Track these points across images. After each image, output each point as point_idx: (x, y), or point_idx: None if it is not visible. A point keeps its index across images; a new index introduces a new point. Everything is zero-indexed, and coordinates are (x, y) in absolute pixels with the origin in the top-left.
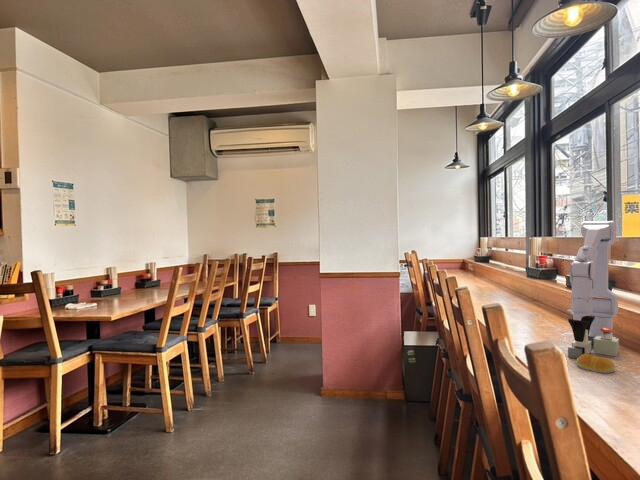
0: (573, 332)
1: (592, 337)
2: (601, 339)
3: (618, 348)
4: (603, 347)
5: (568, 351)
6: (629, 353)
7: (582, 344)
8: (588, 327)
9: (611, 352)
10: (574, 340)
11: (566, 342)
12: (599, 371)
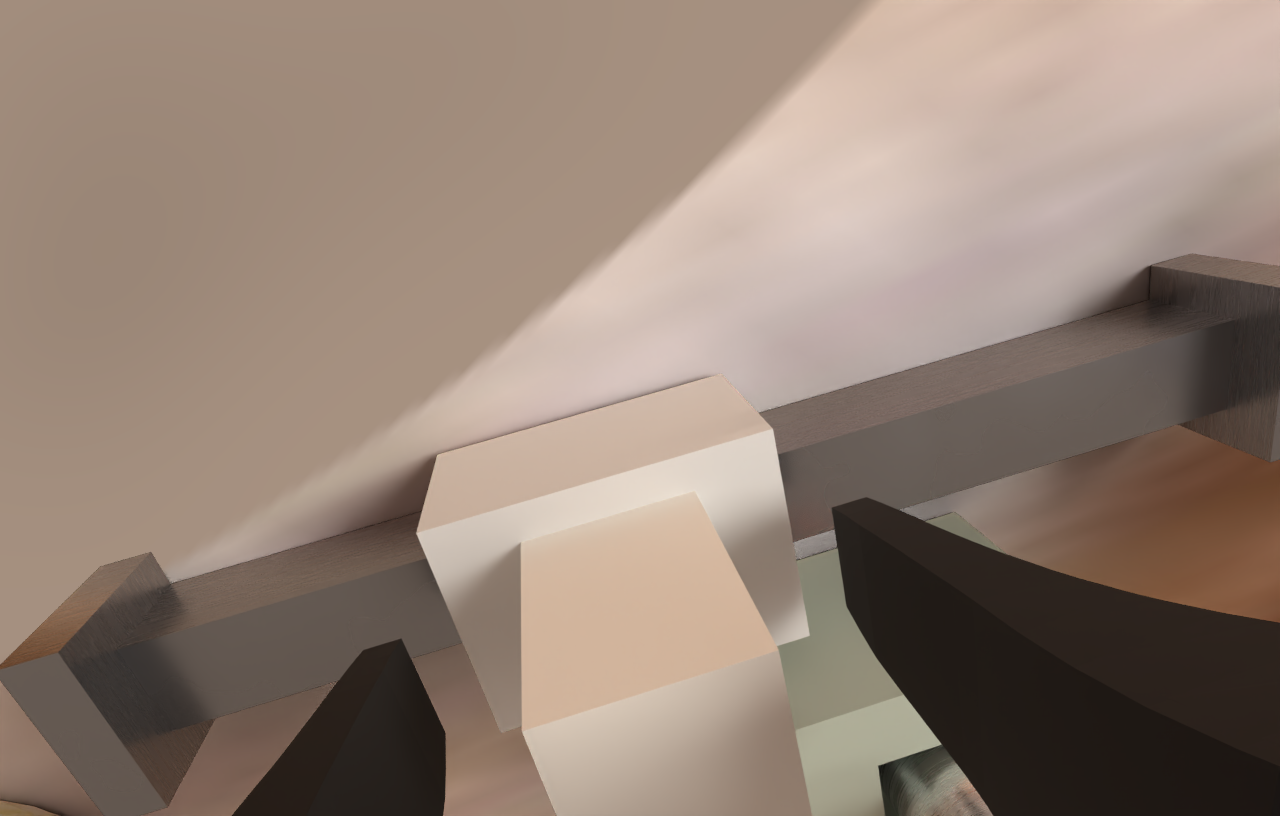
0: (249, 803)
1: (1261, 418)
2: (848, 796)
3: None
4: None
5: (44, 631)
6: None
7: (475, 672)
8: (992, 789)
9: None
10: (645, 469)
11: (1077, 46)
12: None
